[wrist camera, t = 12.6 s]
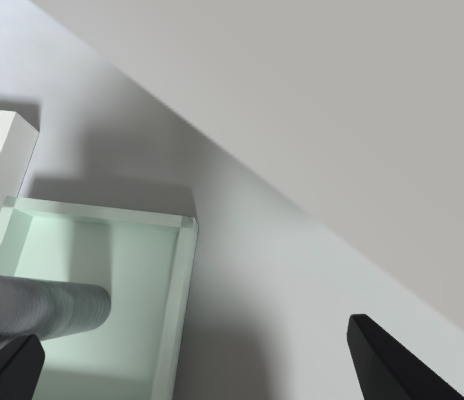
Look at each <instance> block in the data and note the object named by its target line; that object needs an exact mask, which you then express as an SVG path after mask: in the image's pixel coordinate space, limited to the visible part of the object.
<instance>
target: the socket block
mask: <svg viewBox="0 0 464 400" xmlns="http://www.w3.org/2000/svg"><path fill="white" fill-rule="evenodd" d="M38 135H39V132H38V131H37V130H36V129H35V128H34V127H33V126H32V125H30V124H29V123H28V122H27V121H26V120H25V119H24V118H22V117H21V116H20V115H19V114H18V113H17V112H13V111H3V110H0V212H1V209H2V206H3V203H4V201H5V198H6V196H13V197H17V196H18V193H19V190H20V187H21V184H22V181H23V178H24V175H25V172H26V170H27V167H28V164H29V161H30V158H31V155H32V152H33V149H34V146H35V143H36V141H37V138H38Z"/></svg>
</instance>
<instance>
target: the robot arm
mask: <svg viewBox="0 0 464 400" xmlns="http://www.w3.org/2000/svg"><path fill="white" fill-rule="evenodd" d="M347 342H348V346H349V349H350V353H351V356H352V359H353V363H354V366H355V370H356V373H357V377H358V380H359V384H360V387H361V391H362V394H363V397H364V400H464V397H463V396H462V395H461V394H460V393H458V392H457V391H456V390H455V389H454V388H453V387H451V386H450V385H449V384H448V383H447V382H445V381H444V380H443V379H442V378H441V377H440V376H438V375H437V374H436V373H435V372H434V371H432V370H431V369H430V368H429V367H428V366H427V365H425V364H424V363H423V362H422V361H421V360H419V359H418V358H417V357H416V356H415V355H414V354H412V353H411V352H410V351H409V350H408V349H406V348H405V347H404V346H403V345H402V344H401V343H399V342H398V341H397V340H396V339H395V338H393V337H392V336H391V335H390V334H389V333H388V332H386V331H385V330H384V329H383V328H382V327H380V326H379V325H378V324H377V323H376V322H375V321H373V320H372V319H371V318H370V317H369V316H367V315H366V314H352V315H351V316H350V318H349V324H348V330H347ZM44 361H45V351H44V349H43V347H42V344H41V342H40V340H39V338H38V336H37V335H36V334H34V333H31V334H21V335H18V336H17V337H15V338H14V339H13V340H12V341H10V342H9V343H8V344H6V345H5V346H4V347H3V348H1V349H0V400H32V398H33V395H34V392H35V389H36V386H37V383H38V380H39V377H40V374H41V371H42V368H43V365H44Z"/></svg>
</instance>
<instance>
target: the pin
mask: <svg viewBox="0 0 464 400" xmlns="http://www.w3.org/2000/svg"><path fill="white" fill-rule="evenodd" d="M110 310H111V299H110V296H109V294H108V292H107V291H106V290H105V289H104V288H102V287H101V286H98V285H94V284H84V283H74V282H64V281H54V280H44V279H34V278H24V277H14V276H4V275H0V349H1V348H3V347H4V346H5V345H6V344H8V343H9V342H10V341H12V340H13V339H14V338H15V337H17V336H18V335H21V334H31V333H34V334H36V335H37V336H38V338H39V340H40V342H41V341H45V340H50V339H54V338H59V337H64V336H68V335H73V334H77V333H82V332H87V331H91V330H94V329H96V328H98V327H100V326H101V325H102V324H103V323H104V322H105V321H106V319H107V318H108V316H109V314H110Z"/></svg>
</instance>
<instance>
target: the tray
mask: <svg viewBox="0 0 464 400" xmlns="http://www.w3.org/2000/svg"><path fill="white" fill-rule="evenodd" d="M198 229H199V227H198V224H197V222H196V220H195V218H194V217H190V216H181V215H172V214H163V213H155V212H146V211H137V210H128V209H119V208H110V207H102V206H93V205H84V204H75V203H66V202H58V201H49V200H40V199H31V198H22V197H13V196H6V198H5V201H4V203H3V206H2V209H1V212H0V275H4V276H14V277H24V278H34V279H44V280H54V281H64V282H74V283H84V284H94V285H98V286H101V287H102V288H104V289H105V290H106V291H107V292H108V294H109V296H110V299H111V310H110V314H109V316H108V318H107V319H106V321H105V322H104V323H103V324H102V325H101V326H100V327H98V328H96V329H94V330H91V331H87V332H82V333H77V334H73V335H68V336H64V337H59V338H54V339H50V340H45V341H41V344H42V347H43V349H44V351H45V361H44V365H43V368H42V371H41V374H40V377H39V380H38V383H37V386H36V389H35V392H34V395H33V398H32V400H172V398H173V392H174V385H175V379H176V372H177V366H178V359H179V353H180V346H181V340H182V333H183V327H184V320H185V314H186V307H187V301H188V294H189V288H190V281H191V275H192V268H193V262H194V255H195V249H196V242H197V236H198Z"/></svg>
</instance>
